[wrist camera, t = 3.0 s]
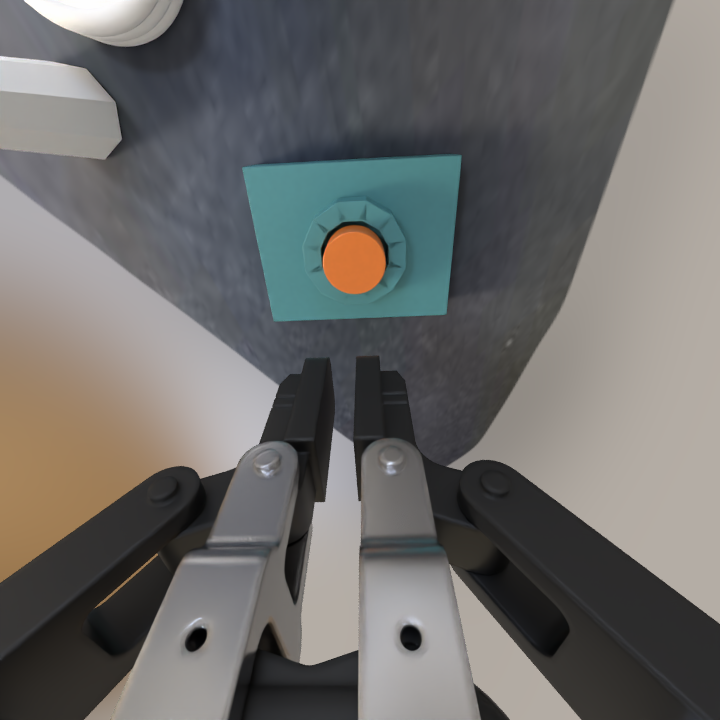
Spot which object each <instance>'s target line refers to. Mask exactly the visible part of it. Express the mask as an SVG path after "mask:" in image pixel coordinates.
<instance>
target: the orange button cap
mask: <svg viewBox="0 0 720 720" xmlns="http://www.w3.org/2000/svg"><path fill="white" fill-rule="evenodd" d="M385 268H386V258H385V253H384V247H383V244H382V242H381V240H380V238H379V237H378V236H377V235H376V233H374V232H373V231H372V230H370V229H369V228H367V227H364V226H360V225H349V226H345V227H343V228H341V229H339V230H338V231H336V232H335V233H334V234H333V235H332V237H331V238H330V240H329V241H328V244H327V247H326V249H325V252H324V256H323V269H324V273H325V275H326V277H327V279H328V280H329V282H330V283H331V284H332V285H333V286H334V287H335V288H337V289H338V290H340V291H342V292H345V293H348V294H361V293H365V292H367V291H369V290H371V289H373V288H374V287H375V286H376V285H377V284H378V283H379V282H380V281H381V279H382V277H383V275H384V272H385Z"/></svg>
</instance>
